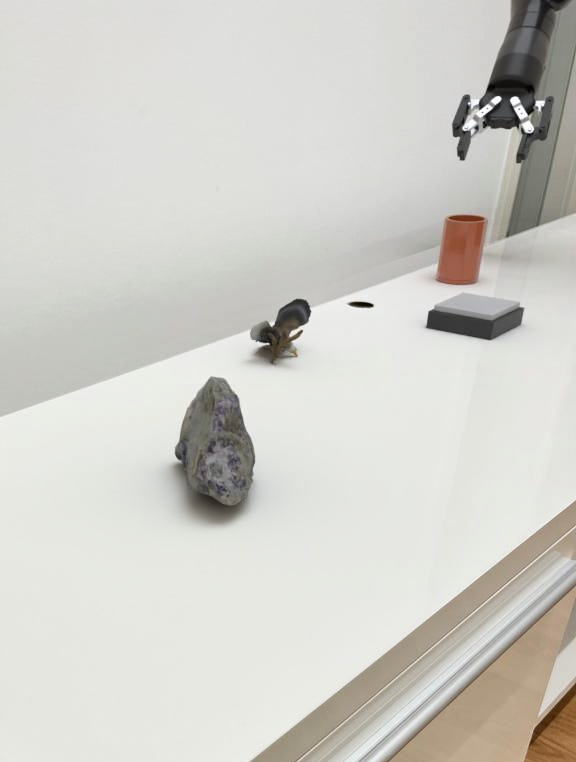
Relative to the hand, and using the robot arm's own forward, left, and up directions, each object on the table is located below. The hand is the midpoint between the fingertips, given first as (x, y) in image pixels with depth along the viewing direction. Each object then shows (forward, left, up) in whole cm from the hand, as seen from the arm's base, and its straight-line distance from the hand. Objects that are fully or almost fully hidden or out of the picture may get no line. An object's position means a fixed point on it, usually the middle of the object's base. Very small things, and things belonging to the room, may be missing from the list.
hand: (489, 158), depth 159 cm
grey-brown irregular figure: (-3, +59, -16) cm, 61 cm away
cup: (-2, +10, -16) cm, 19 cm away
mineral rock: (-21, +97, -16) cm, 100 cm away
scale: (-16, +32, -16) cm, 39 cm away
